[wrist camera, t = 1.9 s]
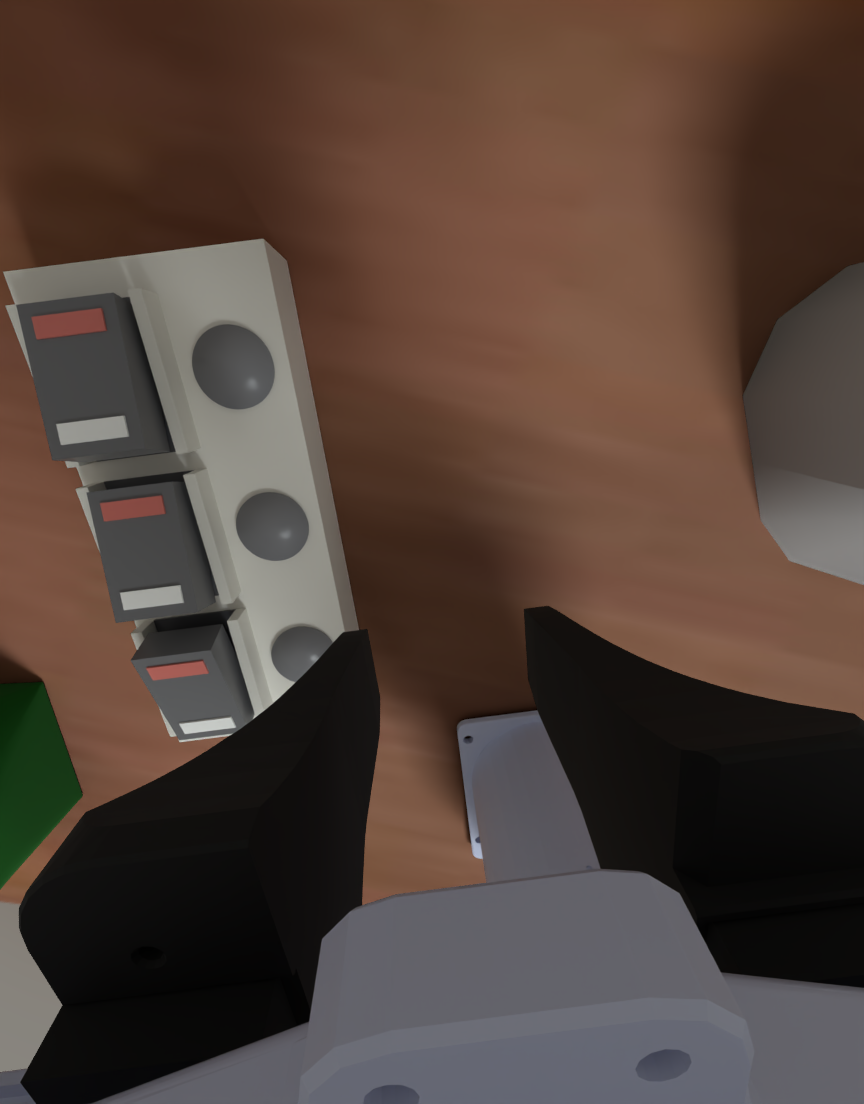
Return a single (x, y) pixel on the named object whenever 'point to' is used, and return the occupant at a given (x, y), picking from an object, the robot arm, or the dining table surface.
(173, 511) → the rocker
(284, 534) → the switch panel
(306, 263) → the dining table surface
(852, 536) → the toilet tissue
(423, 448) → the dining table surface
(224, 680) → the rocker
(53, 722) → the milk carton
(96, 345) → the rocker
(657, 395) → the dining table surface
